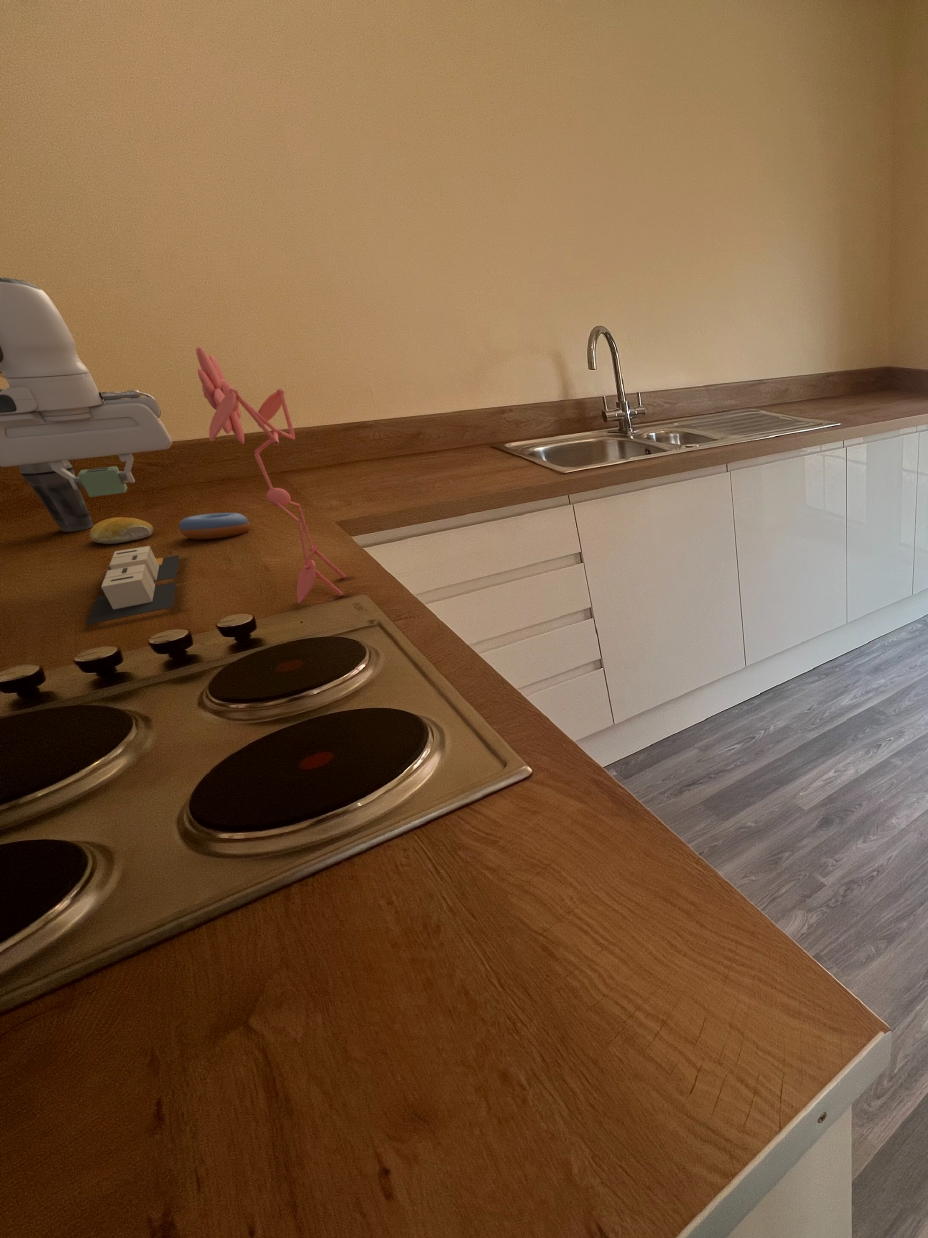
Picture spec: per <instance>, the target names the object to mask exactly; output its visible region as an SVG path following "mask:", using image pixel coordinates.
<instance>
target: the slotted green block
mask: <svg viewBox="0 0 928 1238" xmlns="http://www.w3.org/2000/svg"><path fill="white" fill-rule="evenodd" d="M120 471H121V470H119V468H118V466H117V465H115V466H114V465H113V466H107V467H106V466H105V467H96V468H88V469H81V470H80V471H79V472H78V474H77V476H79V478H80V480H81V482H82V484H83V486H84V488H85V489H84V490H85V491H86V494H87V496H88V497H89V498H95V497H101V496H102V497H104V496H109V495H119V494H125V493H126V492H127V490H128V486H127V485H128V484H123V483H122V482H121V479H120V478H119V476H118V472H120Z"/></svg>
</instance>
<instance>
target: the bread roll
mask: <svg viewBox="0 0 928 1238" xmlns="http://www.w3.org/2000/svg"><path fill="white" fill-rule="evenodd" d="M153 532H154V527H153V525H152V524H151V523H149V522H148V521H146V520H143V519H139V518H136V517H126V516H125V517H124V516H117V517H110V518H106V519H103V520H101V521H98V522H97V523H95V524H93V527H91V528H90V530H89V537H90V539H91V541H93V542H94V543H97V544H104V545H105V544H106V545H118V544H124V543H130V542H135V541H140V540H143V539H146V538H148V537H150V536H151V535H152V534H153Z"/></svg>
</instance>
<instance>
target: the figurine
mask: <svg viewBox="0 0 928 1238" xmlns="http://www.w3.org/2000/svg"><path fill="white" fill-rule="evenodd" d="M195 351H196V356H197V360H198V364H199V366H200V368H197V375H198V379H199V381H200V382H201V388H202V390H201V391H202V392H203V397H204V398H205V399H206V400H207V402H208V404H209V405H210V406H211V408H212V409H214V410H215V411H214V413H213V416H212V418H211V421H210V425H209V430H208V440H209V441H211V442H213V441H214V440H216V438H217V436H218V435H219V433H220V432H221V431H222V430H223V431H224V433H226V434H227V435H229V434H231V432H232V433H233V434H234V436H235V437H236V439H237V440H238V442H239V443H240V444H241V445H245V440H246V439H245V435H244V433H245V432H244V428H243V426H242V422H241V420H240V418H241V417H242V412H241V409H240V405H241V406H242V407H243V408H244V410H245V411H246V412H247V413H248V414H249V415H250V417H251V418H252V419H253V420H254V421H255V422H256V423H257V425H258V427H259V428H261V430H262V431H263V432H264V433H265V434H266V436H267V437H268V439H267V440H266V441H265V442H263V443H261V445H260V446H258V447H257V448H256V449H255V450H254V453H253V457H254V458H255V460H256V462H257V464H258V467H259V468H260V471H261V473H262V475H263V477H264V480H265V482H266V484H267V486H268V488H269V489H268V491H267V492H266V496H265V497H266V500H267V502H268V503H269V504H271V505H272V506H274V507H277V508H280V509H282V510H283V511H284V512H285V513H287V514H288V515H289V516H290V517H291V518H292V519H294V520H295V521H296V522H297V525H298V531H299V537H300V542H301V548H302V551H303V552H302V554H303V558H304V564H303V566H302V568H301V569H300V572H299V574H298V576H297V577H298V578H297V581H296V598H297V603H298V604H303V603H304V602H305V600H306V599H307V598H308V595H309V594H310V593H311V591H312V588H313V587H314V584H315V579H316V576H317V577H318V578H319V580H321V581H322V582H323V583H324V584H326V586H328V587H329V589H331V590H332V591H334V592H335V593H336V594H337V595H338V596H339V597H342V596H343V595H344V593H343V592H342V591H341V590H340V589H339V588H337V587H336V586H335V585H334V584H333V583H332V582H331V581H330V580H328V579H327V578H326V577H325V576H324V575H323V574H321V572H319V571H318V570H317V567H316V566H317V564H316V563H315V561H314V560H313V559H314V558H315V555H316V556H317V557H319V558H320V559H321V560H322V561H323V562H324V563H325V564H327V566H329V567H330V569H332V570H333V571H334V572H336V573H337V574H338V576H340V578H342V579H344V578H346V577H347V575H346V574H344V572H343V571H341V570H340V569H339V568H338V567H337V566H336V565H334V564H333V562H331V561H330V560H329V559H328V558H326V556H325V555H324V554H322V553H321V551H319V550H318V548H319V544H318V543H315V545H313V543H312V540H311V536H310V532H309V529H308V525H307V523H306V520H305V516H304V512H303V509H302V506H301V504H300V503H297V502H295V501H291V500H292V499H291V495H290V493H289V492H288V491H287V490H285V489H283V488H281V487H273V485H272V482H271V480H270V478H269V475H268V472H267V470H266V468H265V465H264V463H263V460H262V458H261V454H260V453H261V452H262V451H264V449H266V448H267V447H268V446H269V445H270V444H271V443H273V444H274V445H275V446H279V444H280V441H279V438H282V437H285V438H288V439H289V440H293V441H294V440H296V434H295V430H294V427H293V423H292V420H291V417H290V412H289V409H288V405H287V402H286V399H285V391H284V390H283V388H282V389H281V388H278V389H276V391H275V392H273V393H272V394H270V395H269V396H268V397H267V398H266V399H265V401H264V402H263V403H262V404H261V406H260V407H259V409H258V411H257V410H255V409H254V408H253V407H252V406H251V404H249V403H248V402H247V401H245V400H244V399H243V398H242V397H241V395H240V394H239V390H237V389H236V388H233V387H232V385H231V384H230V383H229V382H228V381H227V380H226V379H225V376H224V373H223V371H222V368H221V366H220V364H219V363H220V362H219V361H218V359H217V358H216V357H215V355H213V354H210V355H208V354H207V353H206V352H205V350H204V349H203V347H200V346H197V347H196V348H195ZM239 404H240V405H239ZM280 408H282V411H283V414H284V417H285V421H286V424H287V428H288V433H287V432H285V431H283V430H281V429H279V428H276V427H275V426H273V424H272V423H270V420H271V419H272V418H274V416H275V415H276V414H277V413H278V411H279V410H280ZM267 427H268V428H269V429H270V430H271V431H272V432H271V431H270V430H269V429H268V428H267ZM289 504H290V505H293V506H296V507H297V509H298V512H299V515H300V519H301V520H300V519H299V518H298V517H297V516H295V514H293V513H292V512H290V511H289V510H288V509H287V508H286V507H285V506H287V505H289ZM303 528H304V529H303ZM304 532H305V535H306V538H307V541H308V544H309V547H310V548H309V549H308V551H309V552H310V554H309V556H308V553H307V547H306V542H305V537H304ZM351 565H353V563H346V564H340V566H351Z"/></svg>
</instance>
